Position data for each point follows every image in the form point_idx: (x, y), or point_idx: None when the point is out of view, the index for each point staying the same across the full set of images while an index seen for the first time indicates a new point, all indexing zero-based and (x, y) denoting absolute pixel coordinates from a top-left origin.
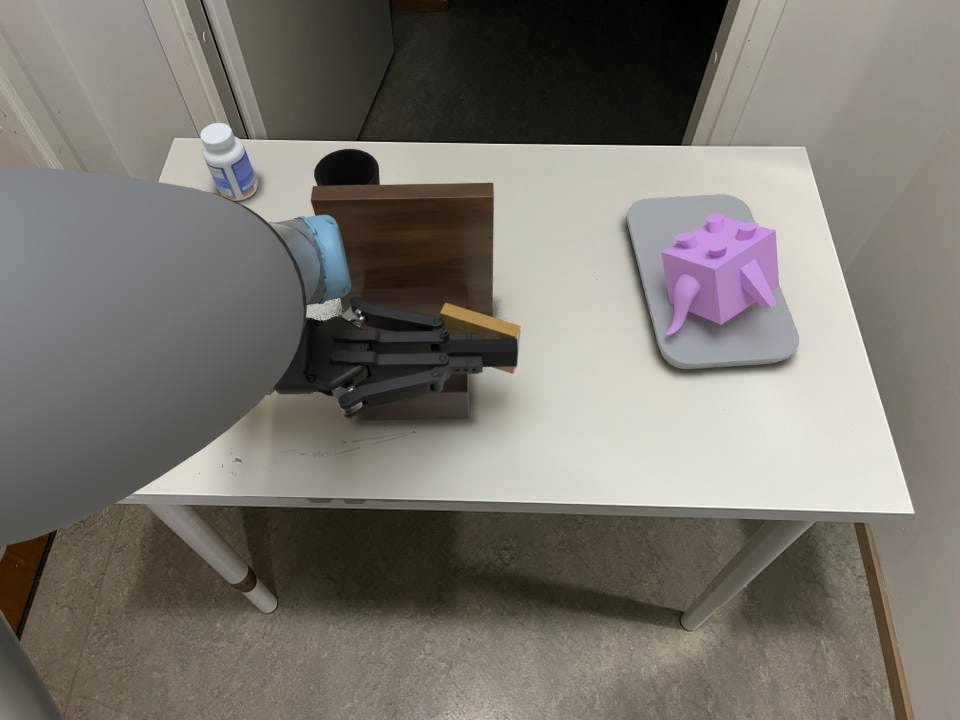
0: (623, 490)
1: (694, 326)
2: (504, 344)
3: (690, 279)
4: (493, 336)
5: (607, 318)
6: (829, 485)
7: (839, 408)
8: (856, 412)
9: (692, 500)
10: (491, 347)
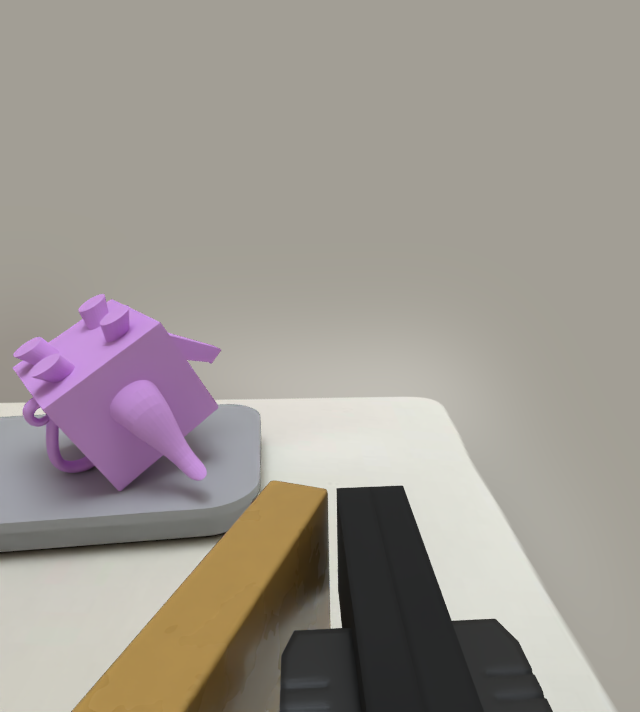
0: (533, 603)
1: (181, 472)
2: (371, 520)
3: (135, 386)
4: (290, 604)
5: (84, 613)
6: (428, 425)
7: (322, 412)
8: (326, 405)
9: (505, 521)
10: (399, 558)
